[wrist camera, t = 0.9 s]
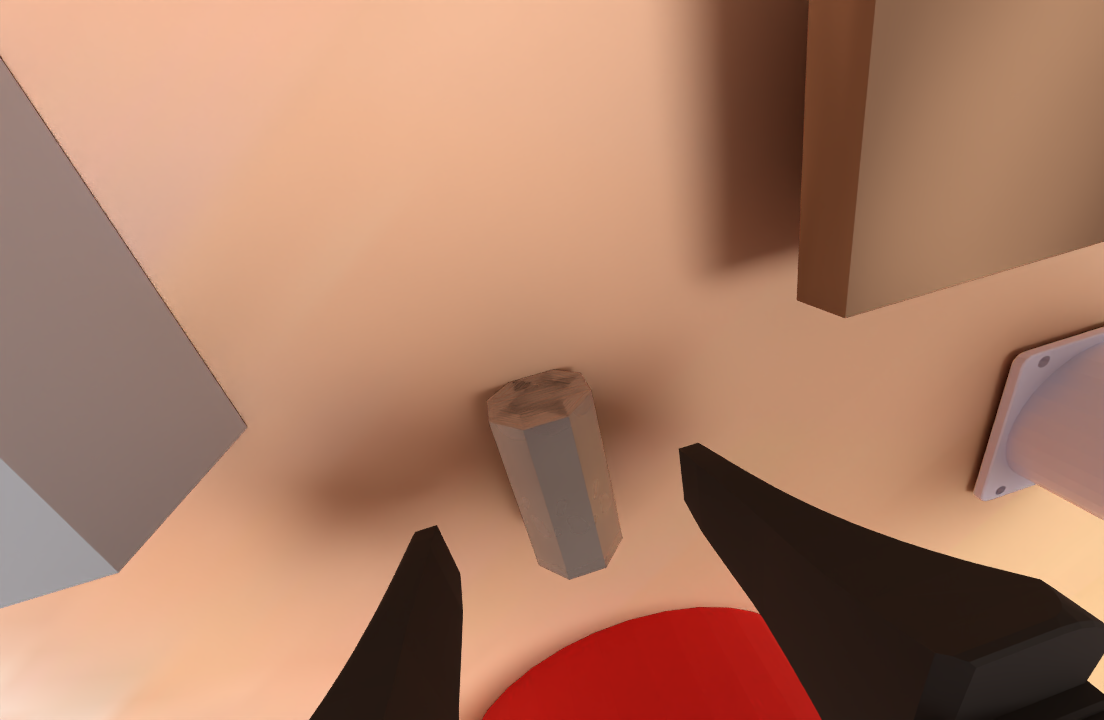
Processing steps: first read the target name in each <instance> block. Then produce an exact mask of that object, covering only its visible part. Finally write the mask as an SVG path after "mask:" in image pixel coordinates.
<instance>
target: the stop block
mask: <svg viewBox="0 0 1104 720" xmlns="http://www.w3.org/2000/svg"><path fill="white" fill-rule="evenodd" d="M246 429H247V426H246V425H245V423H244V422H243V420H242V419H241V417H240V416H239V414H238V413H237V411H236V410H235V408H234V407H233V405H232V404H231V402H230V401H229V399H228V398H227V396H226V395H225V393H224V392H223V390H222V389H221V387H220V386H219V384H218V383H217V381H216V380H215V378H214V377H213V375H212V374H211V372H210V371H209V369H208V368H207V366H206V365H205V363H204V362H203V360H202V359H201V357H200V356H199V354H198V353H197V351H196V350H195V348H194V347H193V345H192V344H191V342H190V341H189V339H188V338H187V336H186V335H185V333H184V332H183V330H182V329H181V327H180V326H179V324H178V323H177V321H176V320H175V318H174V317H173V315H172V314H171V312H170V311H169V309H168V308H167V306H166V305H165V303H164V302H163V300H162V299H161V297H160V296H159V294H158V293H157V291H156V290H155V288H154V287H153V285H152V284H151V282H150V281H149V279H148V278H147V276H146V275H145V273H144V272H143V270H142V269H141V267H140V266H139V264H138V263H137V261H136V260H135V258H134V257H133V255H132V254H131V252H130V251H129V249H128V248H127V246H126V245H125V243H124V242H123V240H122V239H121V237H120V236H119V234H118V233H117V231H116V230H115V228H114V227H113V225H112V224H111V222H110V221H109V219H108V218H107V216H106V215H105V213H104V212H103V211H102V209H101V208H100V206H99V205H98V203H97V202H96V200H95V199H94V197H93V196H92V194H91V193H90V191H89V190H88V188H87V187H86V185H85V184H84V182H83V181H82V179H81V178H80V176H79V175H78V173H77V172H76V170H75V169H74V167H73V166H72V164H71V163H70V161H69V160H68V158H67V157H66V155H65V154H64V152H63V151H62V149H61V148H60V146H59V145H58V143H57V142H56V140H55V139H54V137H53V136H52V134H51V133H50V131H49V130H48V128H47V127H46V125H45V124H44V122H43V121H42V119H41V118H40V116H39V115H38V113H37V112H36V110H35V109H34V107H33V106H32V104H31V103H30V101H29V100H28V98H27V97H26V95H25V94H24V92H23V91H22V89H21V88H20V86H19V85H18V83H17V82H16V80H15V79H14V77H13V76H12V74H11V73H10V71H9V70H8V68H7V67H6V65H5V64H4V62H3V61H2V59H1V58H0V608H3V607H7V606H10V605H13V604H17V603H20V602H23V601H27V600H30V599H33V598H36V597H40V596H43V595H46V594H50V593H53V592H56V591H60V590H63V589H66V588H69V587H73V586H76V585H79V584H83V583H86V582H89V581H93V580H96V579H99V578H102V577H106V576H109V575H112V574H116V573H119V572H120V570H121V569H122V568H123V567H124V566H125V565H126V564H127V563H128V561H129V560H130V559H131V558H132V557H133V556H134V555H135V554H136V552H137V551H138V550H139V549H140V548H141V547H142V546H143V544H144V543H145V542H146V541H147V540H148V539H149V538H150V537H151V535H152V534H153V533H154V532H155V531H156V530H157V529H158V528H159V526H160V525H161V524H162V523H163V522H164V521H165V520H166V519H167V517H168V516H169V515H170V514H171V513H172V512H173V511H174V510H175V508H176V507H177V506H178V505H179V504H180V503H181V502H182V501H183V499H184V498H185V497H186V496H187V495H188V494H189V493H190V492H191V490H192V489H193V488H194V487H195V486H196V485H197V484H198V483H199V481H200V480H201V479H202V478H203V477H204V476H205V475H206V474H207V472H208V471H209V470H210V469H211V468H212V467H213V466H214V465H215V463H216V462H217V461H218V460H219V459H220V458H221V457H222V456H223V454H224V453H225V452H226V451H227V450H228V449H229V448H230V447H231V445H232V444H233V443H234V442H235V441H236V440H237V439H238V438H239V436H240V435H241V434H242V433H243V432H244V431H245V430H246Z"/></svg>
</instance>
